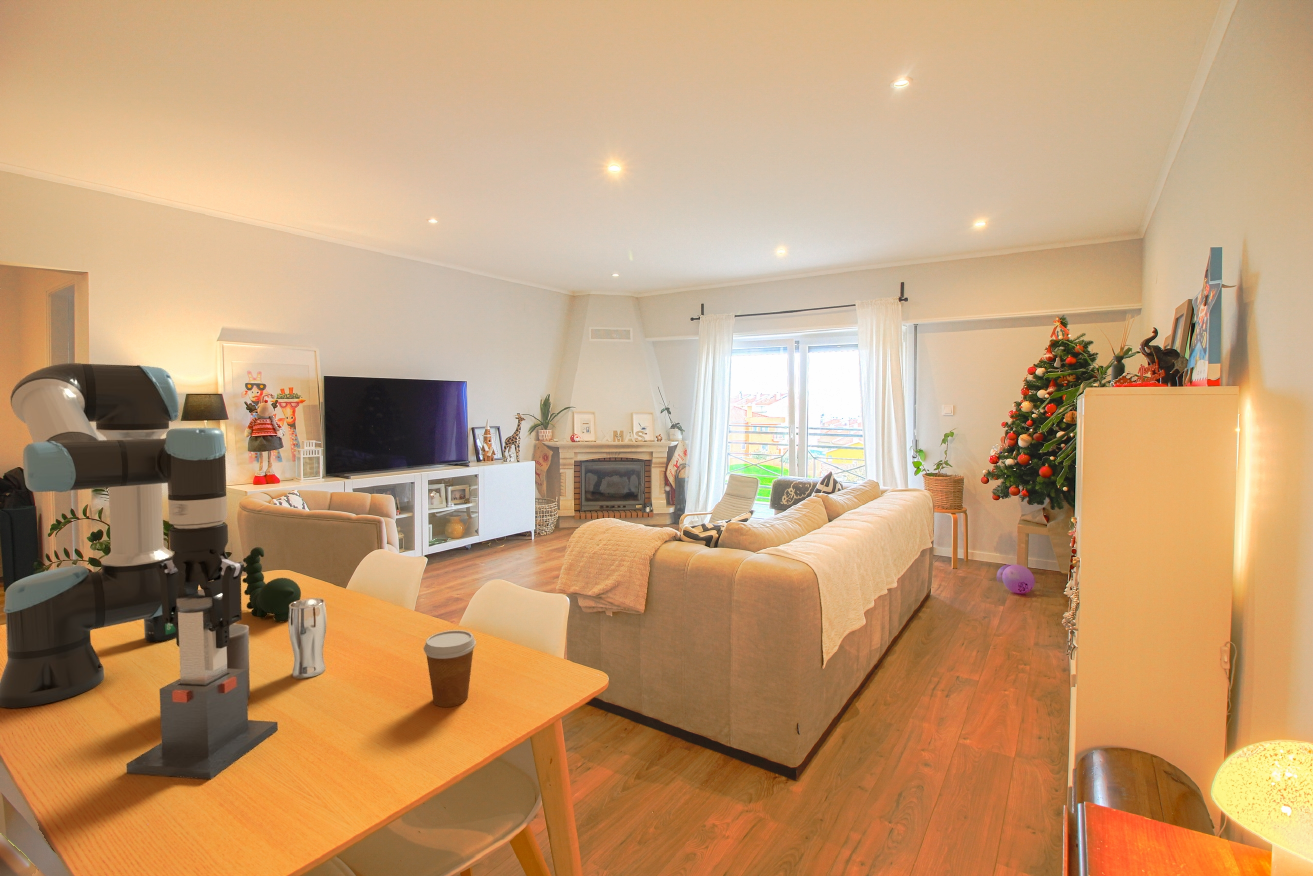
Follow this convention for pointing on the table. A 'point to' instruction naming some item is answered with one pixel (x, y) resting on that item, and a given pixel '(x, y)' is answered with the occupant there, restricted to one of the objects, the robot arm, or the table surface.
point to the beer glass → (307, 636)
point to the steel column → (196, 640)
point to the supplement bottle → (158, 630)
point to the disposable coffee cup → (450, 666)
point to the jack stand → (203, 729)
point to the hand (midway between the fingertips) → (203, 665)
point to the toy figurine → (268, 590)
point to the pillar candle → (239, 650)
